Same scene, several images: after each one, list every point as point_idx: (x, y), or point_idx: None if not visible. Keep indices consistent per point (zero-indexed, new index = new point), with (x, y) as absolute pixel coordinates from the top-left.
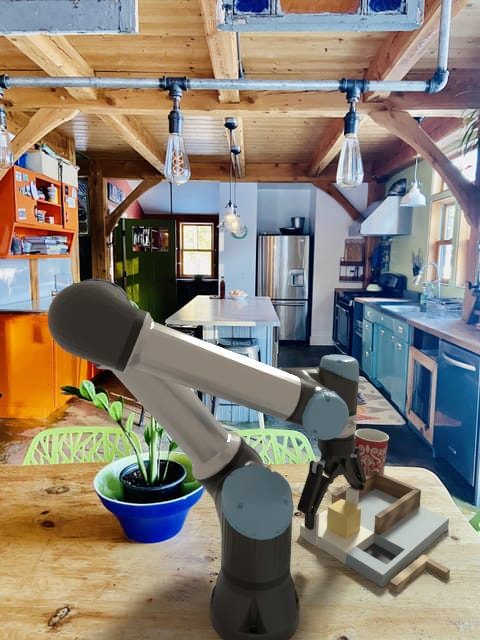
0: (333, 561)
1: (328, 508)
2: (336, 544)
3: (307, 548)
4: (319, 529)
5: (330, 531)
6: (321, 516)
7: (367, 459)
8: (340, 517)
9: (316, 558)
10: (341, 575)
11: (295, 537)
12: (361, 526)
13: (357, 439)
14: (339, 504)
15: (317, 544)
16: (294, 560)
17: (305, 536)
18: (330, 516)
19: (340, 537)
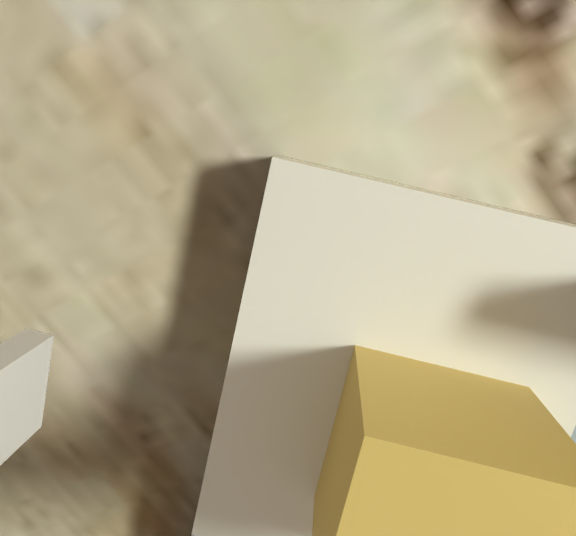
0: (188, 426)
1: (362, 436)
2: (226, 462)
3: (193, 260)
4: (309, 306)
5: (337, 379)
6: (485, 247)
7: None
8: None
9: (148, 342)
10: (118, 494)
11: (243, 141)
12: None
13: None
14: (486, 516)
15: (37, 425)
16: (48, 247)
17: (10, 341)
18: (350, 426)
19: (314, 458)
